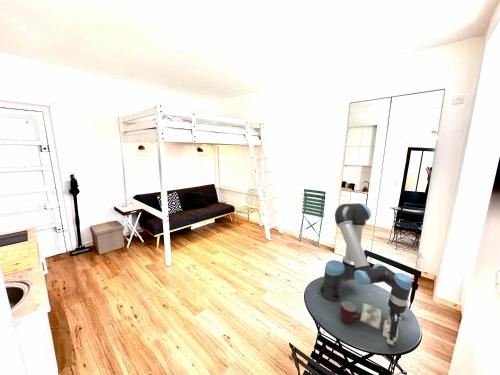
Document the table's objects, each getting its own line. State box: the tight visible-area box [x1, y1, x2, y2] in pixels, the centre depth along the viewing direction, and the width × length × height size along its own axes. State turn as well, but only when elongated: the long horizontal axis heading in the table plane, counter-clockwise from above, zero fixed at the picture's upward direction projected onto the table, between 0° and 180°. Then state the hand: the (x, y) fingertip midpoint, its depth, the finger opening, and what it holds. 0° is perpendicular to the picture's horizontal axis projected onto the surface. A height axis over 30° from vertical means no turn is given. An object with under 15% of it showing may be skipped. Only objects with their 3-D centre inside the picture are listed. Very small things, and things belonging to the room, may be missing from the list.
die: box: [382, 319, 399, 343], centre depth 111 cm, size 6×6×6 cm
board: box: [359, 302, 382, 331], centre depth 124 cm, size 10×16×1 cm, turn 146°
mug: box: [340, 300, 361, 324], centre depth 118 cm, size 11×8×10 cm
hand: (389, 334), depth 112 cm, fingers open, 12 cm apart
